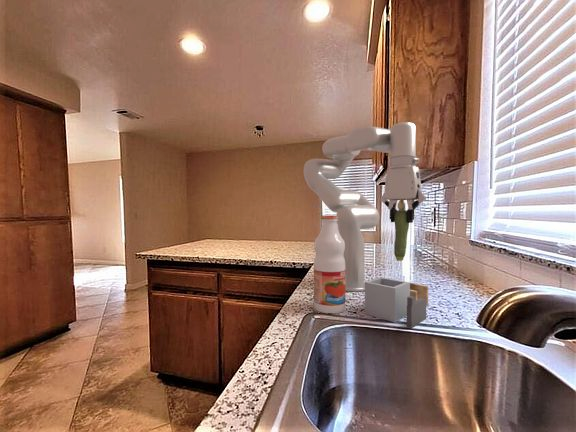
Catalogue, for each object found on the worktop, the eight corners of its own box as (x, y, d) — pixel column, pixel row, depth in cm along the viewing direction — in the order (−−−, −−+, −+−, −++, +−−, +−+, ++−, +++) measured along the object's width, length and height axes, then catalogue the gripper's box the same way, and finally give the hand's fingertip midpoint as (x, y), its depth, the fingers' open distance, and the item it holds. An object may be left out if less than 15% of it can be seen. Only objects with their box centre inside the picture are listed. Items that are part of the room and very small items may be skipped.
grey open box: (364, 313, 81) (364, 282, 81) (380, 306, 88) (380, 277, 88) (395, 322, 75) (395, 288, 75) (409, 313, 81) (409, 282, 81)
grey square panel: (406, 327, 72) (406, 297, 72) (421, 317, 78) (421, 290, 78) (411, 328, 71) (411, 298, 71) (426, 318, 78) (426, 291, 77)
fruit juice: (327, 301, 92) (327, 215, 92) (351, 309, 85) (352, 215, 85) (307, 308, 86) (307, 215, 85) (331, 317, 79) (331, 215, 78)
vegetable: (394, 259, 93) (394, 197, 92) (408, 260, 91) (409, 197, 91) (393, 261, 89) (394, 197, 88) (408, 262, 87) (409, 197, 87)
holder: (380, 303, 90) (380, 284, 90) (394, 297, 97) (394, 279, 96) (415, 312, 82) (415, 291, 82) (428, 305, 89) (428, 285, 89)
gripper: (435, 162, 86) (434, 223, 86) (383, 167, 98) (382, 221, 98) (425, 159, 81) (424, 223, 81) (371, 165, 93) (371, 221, 93)
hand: (401, 221), depth 90 cm, fingers closed on vegetable, 4 cm apart
